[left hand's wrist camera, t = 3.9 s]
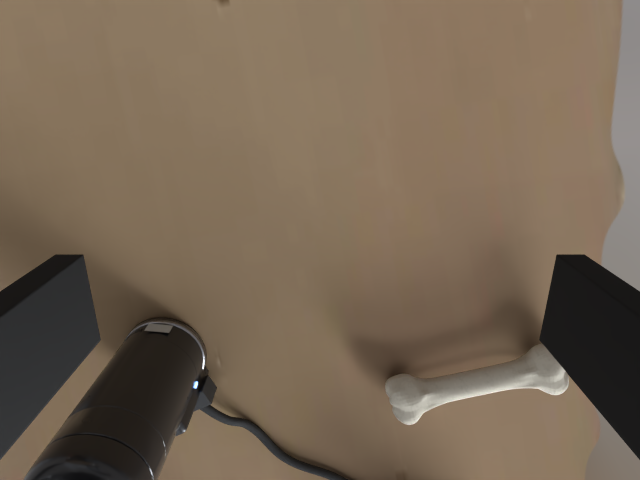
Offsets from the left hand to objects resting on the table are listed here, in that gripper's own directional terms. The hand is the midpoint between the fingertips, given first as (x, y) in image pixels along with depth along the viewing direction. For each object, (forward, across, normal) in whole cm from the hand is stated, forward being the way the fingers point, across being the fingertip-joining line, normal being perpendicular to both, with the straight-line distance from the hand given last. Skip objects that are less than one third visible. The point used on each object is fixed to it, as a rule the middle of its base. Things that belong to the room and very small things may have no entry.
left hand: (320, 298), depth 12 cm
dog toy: (+32, +18, -27) cm, 46 cm away
